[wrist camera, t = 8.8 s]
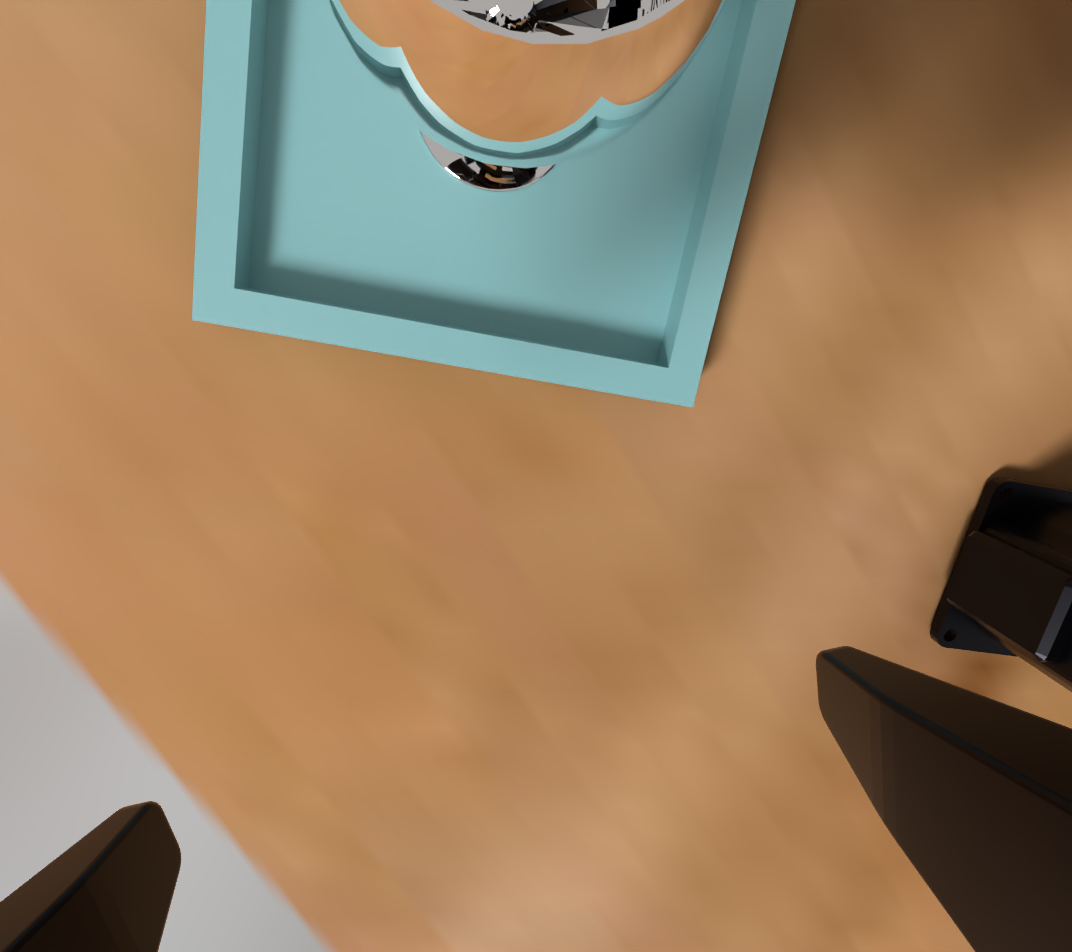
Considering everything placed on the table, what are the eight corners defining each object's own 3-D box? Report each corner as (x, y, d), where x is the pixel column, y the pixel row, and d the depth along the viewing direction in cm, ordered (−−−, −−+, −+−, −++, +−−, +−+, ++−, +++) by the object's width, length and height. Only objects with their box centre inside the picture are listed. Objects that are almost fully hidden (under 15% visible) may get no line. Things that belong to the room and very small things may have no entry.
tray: (800, -120, 17) (837, -164, 15) (674, 397, 21) (692, 407, 19) (251, -290, 15) (222, -363, 13) (217, 316, 19) (192, 320, 17)
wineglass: (555, -62, 17) (753, -842, 5) (632, 168, 18) (910, -27, 7) (348, 31, 17) (87, -524, 5) (444, 250, 18) (407, 198, 7)
